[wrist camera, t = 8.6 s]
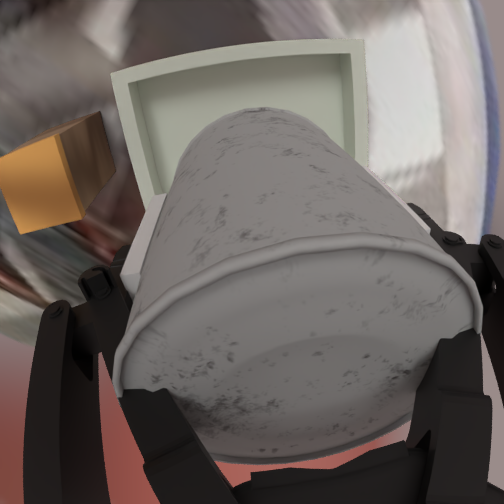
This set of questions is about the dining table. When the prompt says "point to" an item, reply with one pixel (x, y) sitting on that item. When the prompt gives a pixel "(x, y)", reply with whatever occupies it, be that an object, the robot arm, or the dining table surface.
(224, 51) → the tray
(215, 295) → the grey cylinder
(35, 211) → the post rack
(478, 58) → the dining table surface
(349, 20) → the dining table surface
